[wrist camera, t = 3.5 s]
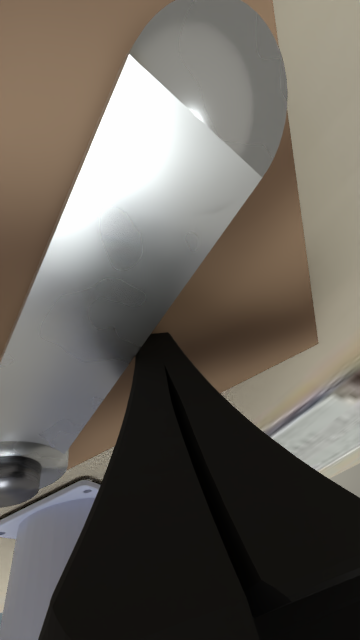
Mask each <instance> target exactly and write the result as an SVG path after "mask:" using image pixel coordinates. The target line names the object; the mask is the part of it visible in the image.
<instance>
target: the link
mask: <svg viewBox="0 0 360 640" xmlns="http://www.w3.org/2000/svg"><path fill="white" fill-rule="evenodd" d="M286 112H287V79H286V73H285V67H284V62H283V59H282V56H281V52H280V49H279V47H278V45H277V42H276V40H275V38H274V36H273V34H272V32H271V31H270V29H269V27H268V26H267V24H266V23H265V22H264V20H263V19H262V18H261V17H260V16H259V14H258V13H257V12H256V11H255V10H253V9H252V8H251V7H250V6H249V5H248V4H246V3H244V2H243V1H241V0H175V1H173V2H171V3H170V4H168V5H167V6H165V7H164V8H163V9H162V10H161V11H159V12H158V13H157V14H156V15H155V16H154V17H153V18H152V19H151V20H150V21H149V23H148V24H147V25H146V26H145V28H144V29H143V31H142V32H141V34H140V35H139V36H138V38H137V39H136V41H135V42H134V44H133V46H132V47H131V49H130V50H129V52H128V53H127V55H126V56H125V58H124V60H123V62H122V64H121V66H120V68H119V70H118V73H117V75H116V78H115V80H114V83H113V85H112V87H111V90H110V92H109V95H108V97H107V100H106V102H105V104H104V107H103V109H102V112H101V114H100V117H99V119H98V121H97V124H96V126H95V129H94V131H93V134H92V136H91V138H90V141H89V143H88V146H87V148H86V151H85V153H84V155H83V158H82V160H81V163H80V165H79V168H78V170H77V172H76V175H75V177H74V180H73V182H72V185H71V187H70V189H69V192H68V194H67V197H66V199H65V202H64V204H63V206H62V209H61V211H60V214H59V216H58V219H57V221H56V223H55V226H54V228H53V231H52V233H51V236H50V238H49V240H48V243H47V245H46V248H45V250H44V253H43V255H42V257H41V260H40V262H39V265H38V267H37V270H36V272H35V274H34V277H33V279H32V282H31V284H30V286H29V289H28V291H27V294H26V296H25V299H24V301H23V303H22V306H21V308H20V311H19V313H18V316H17V318H16V320H15V323H14V325H13V328H12V330H11V333H10V335H9V337H8V340H7V342H6V345H5V347H4V350H3V352H2V354H1V357H0V508H1V507H8V506H12V505H16V504H20V503H22V502H25V501H27V500H29V499H31V498H32V497H34V496H35V495H36V494H37V493H38V491H39V489H41V488H44V487H46V486H48V485H50V484H52V483H53V482H55V481H56V480H58V479H59V478H60V477H61V476H62V475H63V474H64V473H65V472H66V470H67V467H68V457H69V447H70V446H71V445H72V443H73V442H74V440H75V439H76V438H77V436H78V435H79V433H80V432H81V431H82V429H83V428H84V426H85V425H86V424H87V422H88V421H89V419H90V418H91V417H92V415H93V414H94V412H95V411H96V410H97V408H98V407H99V405H100V404H101V403H102V401H103V400H104V398H105V397H106V396H107V394H108V393H109V391H110V390H111V389H112V387H113V386H114V384H115V383H116V382H117V380H118V379H119V378H120V376H121V375H122V373H123V372H124V371H125V369H126V368H127V366H128V365H129V364H130V362H131V361H132V359H133V358H134V357H135V355H136V354H137V352H138V351H139V350H140V348H141V347H142V345H143V344H144V343H145V341H146V340H147V338H148V337H149V336H150V334H151V333H152V331H153V330H154V329H155V327H156V326H157V324H158V323H159V322H160V320H161V319H162V317H163V316H164V315H165V313H166V312H167V310H168V309H169V308H170V306H171V305H172V303H173V302H174V301H175V299H176V298H177V296H178V295H179V294H180V292H181V291H182V289H183V288H184V287H185V285H186V284H187V282H188V281H189V280H190V278H191V277H192V275H193V274H194V273H195V271H196V270H197V268H198V267H199V266H200V264H201V263H202V261H203V260H204V259H205V257H206V256H207V254H208V253H209V252H210V250H211V249H212V247H213V246H214V245H215V243H216V242H217V240H218V239H219V238H220V236H221V235H222V233H223V232H224V231H225V229H226V228H227V226H228V225H229V224H230V222H231V221H232V219H233V218H234V217H235V215H236V214H237V213H238V211H239V210H240V208H241V207H242V206H243V204H244V203H245V201H246V200H247V199H248V197H249V196H250V194H251V193H252V192H253V190H254V189H255V187H256V186H257V185H258V183H259V182H260V180H261V179H262V178H263V176H264V174H265V173H266V171H267V170H268V168H269V166H270V164H271V163H272V161H273V159H274V157H275V154H276V152H277V149H278V147H279V144H280V141H281V137H282V134H283V130H284V125H285V120H286Z"/></svg>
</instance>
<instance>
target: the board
mask: <svg viewBox="0 0 360 640" xmlns="http://www.w3.org/2000/svg"><path fill="white" fill-rule="evenodd" d="M173 1H175V0H0V357H1V354H2V352H3V350H4V347H5V345H6V342H7V340H8V337H9V335H10V333H11V330H12V328H13V325H14V323H15V320H16V318H17V316H18V313H19V311H20V308H21V306H22V303H23V301H24V299H25V296H26V294H27V291H28V289H29V286H30V284H31V282H32V279H33V277H34V274H35V272H36V270H37V267H38V265H39V262H40V260H41V257H42V255H43V253H44V250H45V248H46V245H47V243H48V240H49V238H50V236H51V233H52V231H53V228H54V226H55V223H56V221H57V219H58V216H59V214H60V211H61V209H62V206H63V204H64V202H65V199H66V197H67V194H68V192H69V189H70V187H71V185H72V182H73V180H74V177H75V175H76V172H77V170H78V168H79V165H80V163H81V160H82V158H83V155H84V153H85V151H86V148H87V146H88V143H89V141H90V138H91V136H92V134H93V131H94V129H95V126H96V124H97V121H98V119H99V117H100V114H101V112H102V109H103V107H104V104H105V102H106V100H107V97H108V95H109V92H110V90H111V87H112V85H113V83H114V80H115V78H116V75H117V73H118V70H119V68H120V66H121V64H122V62H123V60H124V58H125V56H126V55H127V53H128V52H129V50H130V49H131V47H132V46H133V44H134V42H135V41H136V39H137V38H138V36H139V35H140V34H141V32H142V31H143V29H144V28H145V26H146V25H147V24H148V23H149V21H150V20H151V19H152V18H153V17H154V16H155V15H156V14H157V13H158V12H159V11H161V10H162V9H163V8H164V7H165V6H167V5H168V4H170V3H171V2H173ZM241 1H243V2H244V3H246V4H248V5H249V6H250V7H251V8H252V9H253V10H255V11H256V12H257V13H258V14H259V16H260V17H261V18H262V19H263V20H264V22H265V23H266V24H267V26H268V27H269V29H270V31H271V32H272V34H273V36H274V38H275V40H276V42H277V45H278V38H277V31H276V23H275V16H274V8H273V1H272V0H241ZM278 47H279V46H278ZM165 332H168V333H169V334H170V335H171V336H172V337H173V339H174V340H175V342H176V343H177V344H178V346H179V347H180V348H181V350H182V351H183V352H184V354H185V355H186V356H187V357H188V359H189V360H190V361H191V362H192V363H193V365H194V366H195V367H196V368H197V369H198V370H199V371H200V373H201V374H202V375H203V376H204V377H205V378H206V379H207V380H208V382H209V383H210V384H211V385H212V386H213V387H214V388H215V389H216V390H217V391H218V392H219V393H221V392H223V391H225V390H227V389H229V388H231V387H233V386H235V385H237V384H239V383H241V382H243V381H245V380H247V379H249V378H251V377H253V376H255V375H257V374H259V373H261V372H263V371H265V370H267V369H269V368H271V367H273V366H275V365H277V364H279V363H281V362H283V361H285V360H287V359H289V358H291V357H293V356H295V355H297V354H299V353H301V352H303V351H305V350H307V349H309V348H311V347H313V346H315V345H317V344H318V337H317V330H316V322H315V315H314V307H313V300H312V292H311V285H310V277H309V270H308V262H307V255H306V247H305V240H304V232H303V225H302V218H301V210H300V203H299V195H298V188H297V180H296V173H295V165H294V158H293V150H292V143H291V135H290V128H289V120H288V113H287V112H286V120H285V125H284V130H283V134H282V137H281V141H280V144H279V147H278V149H277V152H276V154H275V157H274V159H273V161H272V163H271V164H270V166H269V168H268V170H267V171H266V173H265V174H264V176H263V178H262V179H261V180H260V182H259V183H258V185H257V186H256V187H255V189H254V190H253V192H252V193H251V194H250V196H249V197H248V199H247V200H246V201H245V203H244V204H243V206H242V207H241V208H240V210H239V211H238V213H237V214H236V215H235V217H234V218H233V219H232V221H231V222H230V224H229V225H228V226H227V228H226V229H225V231H224V232H223V233H222V235H221V236H220V238H219V239H218V240H217V242H216V243H215V245H214V246H213V247H212V249H211V250H210V252H209V253H208V254H207V256H206V257H205V259H204V260H203V261H202V263H201V264H200V266H199V267H198V268H197V270H196V271H195V273H194V274H193V275H192V277H191V278H190V280H189V281H188V282H187V284H186V285H185V287H184V288H183V289H182V291H181V292H180V294H179V295H178V296H177V298H176V299H175V301H174V302H173V303H172V305H171V306H170V308H169V309H168V310H167V312H166V313H165V315H164V316H163V317H162V319H161V320H160V322H159V323H158V324H157V326H156V327H155V329H154V330H153V331H152V333H151V334H155V333H165ZM134 368H135V357H134V358H133V359H132V361H131V362H130V364H129V365H128V366H127V368H126V369H125V371H124V372H123V373H122V375H121V376H120V378H119V379H118V380H117V382H116V383H115V384H114V386H113V387H112V389H111V390H110V391H109V393H108V394H107V396H106V397H105V398H104V400H103V401H102V403H101V404H100V405H99V407H98V408H97V410H96V411H95V412H94V414H93V415H92V417H91V418H90V419H89V421H88V422H87V424H86V425H85V426H84V428H83V429H82V431H81V432H80V433H79V435H78V436H77V438H76V439H75V440H74V442H73V443H72V445H71V446H70V447H69V457H68V467H67V470H68V469H70V468H72V467H74V466H76V465H78V464H80V463H82V462H84V461H86V460H88V459H90V458H92V457H94V456H96V455H98V454H100V453H102V452H104V451H106V450H108V449H110V448H112V447H114V446H115V445H116V442H117V438H118V435H119V432H120V429H121V426H122V422H123V419H124V415H125V412H126V408H127V404H128V399H129V395H130V391H131V386H132V381H133V375H134Z"/></svg>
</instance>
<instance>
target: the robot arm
mask: <svg viewBox="0 0 360 640" xmlns="http://www.w3.org/2000/svg"><path fill="white" fill-rule="evenodd" d="M0 537H4V538H12V539H16V542H15V548H14V553H13V559H12V565H11V570H10V576H9V582H8V587H7V593H6V599H5V604H4V610H3V616H2V622H1V628H0V640H360V498H359V497H357V496H356V495H354V494H353V493H351V492H349V491H348V490H346V489H344V488H342V487H341V486H340V485H338V484H336V483H335V482H333V481H331V480H330V479H328V478H327V477H325V476H324V475H322V474H321V473H319V472H318V471H316V470H315V469H313V468H312V467H310V466H309V465H307V464H306V463H304V462H303V461H301V460H300V459H299V458H297V457H296V456H294V455H293V454H292V453H290V452H289V451H288V450H286V449H285V448H284V447H282V446H281V445H280V444H278V443H277V442H276V441H274V440H273V439H272V438H270V437H269V436H268V435H266V434H265V433H264V432H262V431H261V430H260V429H259V428H258V427H256V426H255V425H254V424H253V423H252V422H250V421H249V420H248V419H247V418H246V417H245V416H243V415H242V414H241V413H240V412H239V411H238V410H237V409H236V408H235V407H233V406H232V405H231V404H230V403H229V402H228V401H227V400H226V399H225V398H224V397H223V396H222V395H221V394H220V393H219V392H218V391H217V390H216V389H215V388H214V387H213V386H212V385H211V384H210V383H209V382H208V380H207V379H206V378H205V377H204V376H203V375H202V374H201V373H200V371H199V370H198V369H197V368H196V367H195V366H194V365H193V363H192V362H191V361H190V360H189V359H188V357H187V356H186V355H185V354H184V352H183V351H182V350H181V348H180V347H179V346H178V344H177V343H176V342H175V340H174V339H173V337H172V336H171V335H170V334H169V333H168V332H165V333H155V334H150V336H149V337H148V338H147V340H146V341H145V343H144V344H143V345H142V347H141V348H140V350H139V351H138V352H137V354H136V355H135V368H134V375H133V381H132V386H131V391H130V395H129V399H128V404H127V408H126V412H125V415H124V419H123V422H122V426H121V429H120V432H119V435H118V438H117V442H116V445H115V447H114V450H113V453H112V456H111V459H110V462H109V464H108V467H107V470H106V473H105V475H104V478H103V480H102V483H101V485H99V484H97V483H94V482H92V481H89V480H81V481H78V482H76V483H74V484H72V485H70V486H68V487H66V488H64V489H62V490H60V491H58V492H56V493H54V494H52V495H50V496H48V497H46V498H44V499H42V500H40V501H38V502H36V503H34V504H32V505H30V506H28V507H26V508H24V509H21V510H19V511H17V512H15V513H13V514H11V515H9V516H7V517H5V518H3V519H1V520H0Z"/></svg>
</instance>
